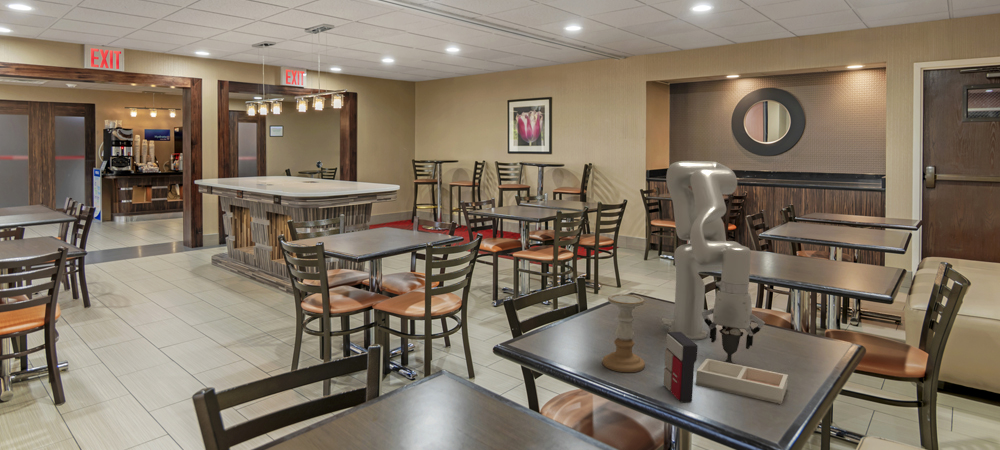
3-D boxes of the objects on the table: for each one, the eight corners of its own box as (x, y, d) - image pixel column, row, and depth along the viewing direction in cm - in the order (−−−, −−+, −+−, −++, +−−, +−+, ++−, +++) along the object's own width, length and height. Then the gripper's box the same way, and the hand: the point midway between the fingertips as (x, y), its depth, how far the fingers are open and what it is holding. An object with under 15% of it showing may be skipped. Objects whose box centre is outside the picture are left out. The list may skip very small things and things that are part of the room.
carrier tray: (695, 384, 154) (696, 370, 153) (705, 371, 163) (706, 358, 162) (781, 404, 143) (782, 389, 142) (786, 389, 152) (788, 374, 151)
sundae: (743, 370, 165) (747, 320, 163) (719, 368, 166) (722, 318, 164) (738, 361, 171) (742, 313, 169) (715, 360, 172) (718, 312, 170)
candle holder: (594, 360, 171) (596, 295, 168) (628, 355, 176) (631, 291, 173) (618, 375, 160) (621, 305, 157) (653, 369, 164) (657, 301, 162)
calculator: (661, 385, 153) (664, 331, 151) (677, 384, 154) (680, 331, 152) (677, 402, 143) (681, 345, 141) (694, 402, 143) (697, 345, 141)
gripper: (700, 286, 167) (697, 342, 169) (764, 294, 158) (760, 354, 160) (706, 281, 173) (703, 335, 175) (768, 289, 164) (764, 346, 166)
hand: (730, 344), depth 168 cm, fingers open, 9 cm apart
